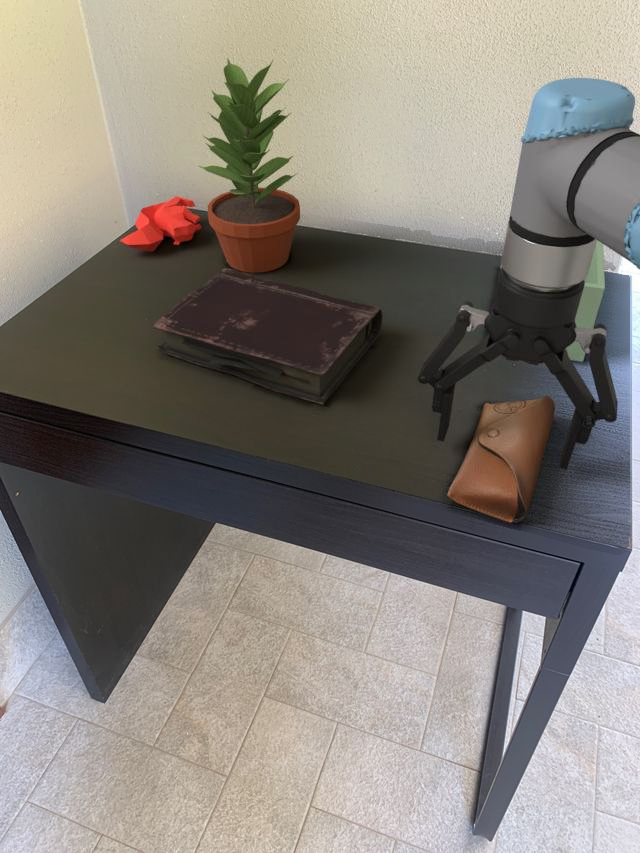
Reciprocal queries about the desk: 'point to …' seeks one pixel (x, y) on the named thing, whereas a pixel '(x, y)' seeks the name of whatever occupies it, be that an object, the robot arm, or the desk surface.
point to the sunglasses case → (504, 459)
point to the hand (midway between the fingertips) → (502, 446)
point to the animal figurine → (163, 224)
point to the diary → (271, 333)
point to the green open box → (589, 300)
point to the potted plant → (250, 178)
